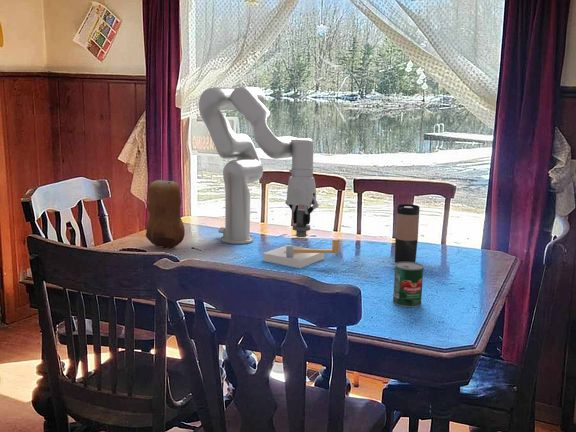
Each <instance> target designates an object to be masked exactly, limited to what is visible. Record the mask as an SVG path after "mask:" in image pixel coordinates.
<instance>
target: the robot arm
mask: <svg viewBox="0 0 576 432" xmlns="http://www.w3.org/2000/svg"><path fill="white" fill-rule="evenodd" d="M265 102H266V96H265V93H264V92H263V91H262V90H261V89H260V88H259V87H256V86H238V87H223V86H221V87H220V86H218V87H217V86H216V87H214V86H213V87H209V88H206V89H205V90H204V91H203V92H201V95H200V96H199V100H198V110H199V114H200V116H201V119H202V121H203V123H204V124H205V127H206V128H207V131H208V133H209V136H210V138H211V140H212V143H213V145H214V147H215V150H216V152H217V153H218V155H219V157H221V158H222V159H225V160H226V159H233V160H230V161H228V162H227V163H225V165H224V166H223V169H222V177H223V182H224V191H225V194H224V195H225V202H224V203H225V210H224V215H225V217H224V218H225V220H224V221H225V223H224V224H225V226H224V227H223V226H220V227H219V229H218V233H220V234H222V236H221V238H220V240H221V242H223V243H226V244H233V245H242V244H249V243H253V241H254V239H255V238H254V236H252V235H251V234H250V233H251V230H250V229H251V194H250V189H249V187H248V184H249V183H250V184H251V183H255V182H258V181H260V179H262V177H263V174H264V167H263V164H262V161H261V159H260V156H259V155H258V154H259V153H258V151H257V148H256V147H255V144H254V143H253V141H252V138H250V136H249V135H247V134H245V133H241V132H234V130H233V128H232V127H231V124H230V122H229V120H228V119H227V117H226V116H225V115H224V114H223V113H222V112H221V111H226V110H227V111H233V110H235V111H236V110H237V112H239V114H240V115H242V117H243V118H244V119H245V120H246V121H247V123H248V124H249V126H251V128H252V135H253V139H254V140H255V143H256V144H257V145H258V147H259V148H260V149H261V150H262V151H263V153H264V154H265V155H267V156H268V157H270V159H275V160H276V159H285V158H286V159H287V158H291V168H289V173H291V175H290V176H289V178H288V182H287V183H288V184H287V189H286V200H285V204H286V206H288V207H289V208H290V210H291V212H292V220H293V225H296V224H297V210H299V209H300V206H302V207H303V209H304V210H305V214H304V215H303V224H304V225H310V224H311V223H310V222H311V213H313V212H314V210H316V209H317V208H319V207H320V205H319V203H318V201H317V188H316V187H317V186H316V181H315V177H314V175H313V174H314V140H313V139H312V138H307V137H306V138H305V137H294V136H276V135H275V134H274V133H273V132H272V130H271V129H270V128H269V126H268V124H267V123H268V122H270V119H271V116H272V115H271V112H270V111H269V109H268V108H267V107H266V106H265Z"/></svg>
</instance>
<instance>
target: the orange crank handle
mask: <svg viewBox="0 0 576 432" xmlns="http://www.w3.org/2000/svg"><path fill="white" fill-rule="evenodd" d="M331 242H332V244H331V249H326V248H325V249H322V248H321V249H319V248H317V249H316V248H315V249H314V248H308V249H294V246H295V245H292V246H286V245H285V246H286V256H287V257H293V256H294V253H324V254H334V255H335V254H339V239H337V238H334V239H332V241H331Z"/></svg>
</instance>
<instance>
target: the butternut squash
mask: <svg viewBox="0 0 576 432" xmlns="http://www.w3.org/2000/svg"><path fill="white" fill-rule="evenodd" d="M147 200H148V204H147V210H148V213H149V215H148V219H147V222H146V233H145V237H146V239H147V240H148V241H149V242H150V243H151V244H152V245H154V246H156V247H162V248H163V247H164V249H166V248H167V249H173V248H174V247H177V246H178V245H179V244H181V243H182V242H183V240H184V239H185V235H186V233H185V225H184V222H183V220H182V218H181V206H182V196H181V188H180V185H179V183H177V182H176V181H173V180H162V179H157V180H154V181H152V182H151V183H150V185H149V187H148V199H147Z"/></svg>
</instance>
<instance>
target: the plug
mask: <svg viewBox="0 0 576 432" xmlns="http://www.w3.org/2000/svg"><path fill="white" fill-rule="evenodd" d="M304 214H305V209H304V208H303V209H302V208H299V210H297V223H296V224H293V225H292V230H293V231H296V233H295V234H296V235H295V237H297V238H306V237H307V231H310V230H311V225H310V224H307V225H304V224H303V215H304Z"/></svg>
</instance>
